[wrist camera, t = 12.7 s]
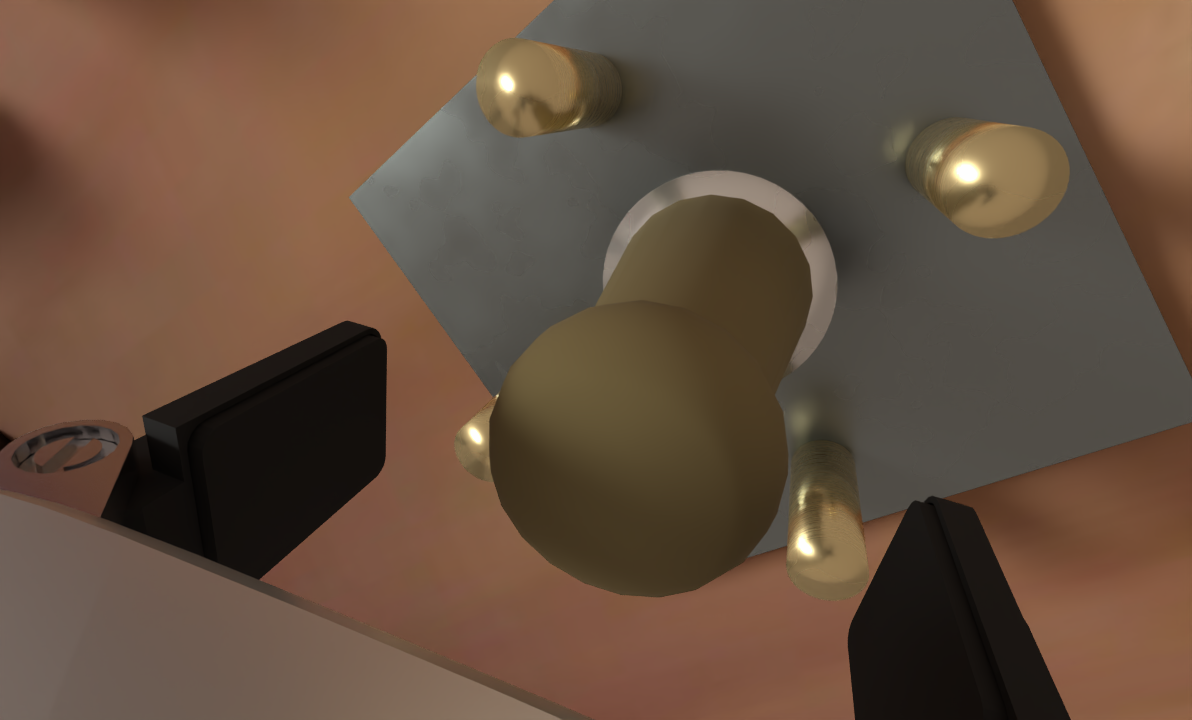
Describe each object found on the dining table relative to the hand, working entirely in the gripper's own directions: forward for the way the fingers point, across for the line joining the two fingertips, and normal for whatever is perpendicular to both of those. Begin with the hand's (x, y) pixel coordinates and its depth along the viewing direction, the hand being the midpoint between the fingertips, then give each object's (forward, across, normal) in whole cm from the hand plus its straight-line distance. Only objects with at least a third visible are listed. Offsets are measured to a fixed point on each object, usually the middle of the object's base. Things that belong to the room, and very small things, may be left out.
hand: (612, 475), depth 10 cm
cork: (+10, 0, -1) cm, 10 cm away
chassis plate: (+11, 0, -1) cm, 11 cm away
